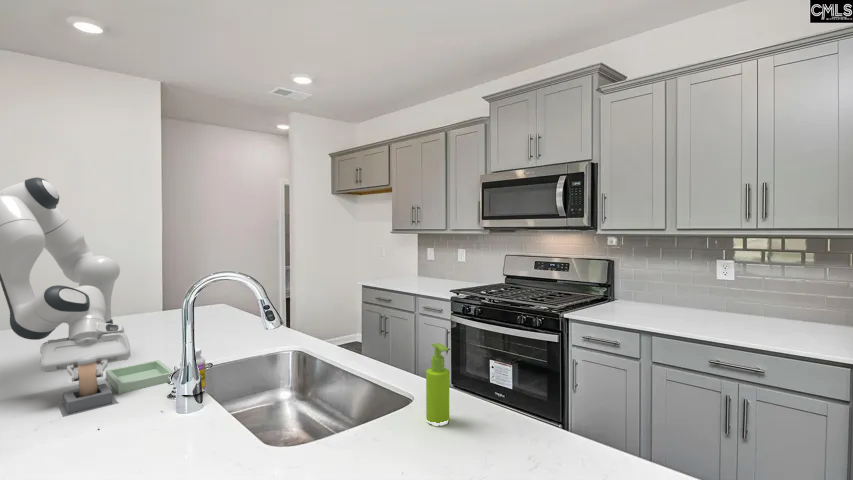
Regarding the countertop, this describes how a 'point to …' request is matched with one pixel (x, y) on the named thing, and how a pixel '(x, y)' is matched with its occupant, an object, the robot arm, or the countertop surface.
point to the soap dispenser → (437, 387)
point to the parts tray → (138, 376)
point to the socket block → (85, 401)
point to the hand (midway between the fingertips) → (87, 378)
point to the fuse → (87, 375)
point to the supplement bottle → (200, 366)
